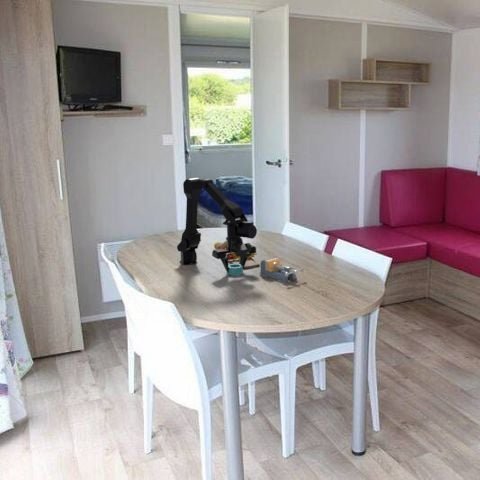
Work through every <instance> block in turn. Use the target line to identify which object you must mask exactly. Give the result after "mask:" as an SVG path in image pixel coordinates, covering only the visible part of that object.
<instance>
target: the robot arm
mask: <svg viewBox="0 0 480 480" xmlns="http://www.w3.org/2000/svg"><path fill="white" fill-rule="evenodd" d="M182 184H183V185H182V188H183V193H184V195H185V197H186V208H185V209H186V210H185V228H184V231H183V232H182V233H181V239H180V242H179V243H178V244H177V246H176V249H177V251H178V252H180V260H179V263H181V264H182V265H184V266H185V265H187V266H189V265H192V264H197V263H198V261H197V259H198V258H197V256H198V255H197V252H196V250H197V249H199V245H200V243H201V242H202V240H201V237H202V233H201V232H199V231H198V228H197V227H198V225H197V224H198V223H197V222H198V207H199V206H198V203H199V198H200V196H201V194H202V191H203V190H204V191H205V192H206V193H207V195H209V197H210V198H212V200H213V201H214V202H215V203H216V204H217V206H219V208H220V210H221V211H220V212H221V214H222V216H223V217H224V219H225V221H223V223H222V225H223V226H224V225H225V226H226V234H227V235H226V237H225V241H226V240H227V243H228V246H227V247H226V249H224V250H225V251H224V250H222V249H213V250H212V253H211V256H212V257H213V258H215V259H217V260H220V261H221V263H222V265H223V266H224V269H225V271H226V273H227V272H228V271H229V268H228V261H230V260H229V258H228V257H227V255H229V254H236V256H238V257H240V262H241V265H243V270H245V269H244V266H245V263H246V260H247V258H248V257H249V256H251V255H252V253H254V254H256V253H257V246H256V247H255V245H252V244H251V242H246V243H244V241H243V240H244V239H243V238H246V239H249V240H250V239H251V240H252V239H255V238H256V235H257V233H258V232H257V231H258V230H257V228H256V226H255V224H254V221H248V219H247V216H246V214H244V211H243V209H242V207H241V206H240V205H238V204H237V203H236V202H235V201H231V199H229V198H228V197H227V196H226V195H225V194H224V193H223V192H222V190H221V189H220V187H218V186H217V185H216V184H215V182H214V180H213V179H211V178H206V179H205V178H204V179H203V178H202V179H200V178H199V177H192V178H187V179H185V180H183V183H182ZM243 243H244V244H243ZM249 258H250V257H249ZM249 258H248V259H249Z"/></svg>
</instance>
